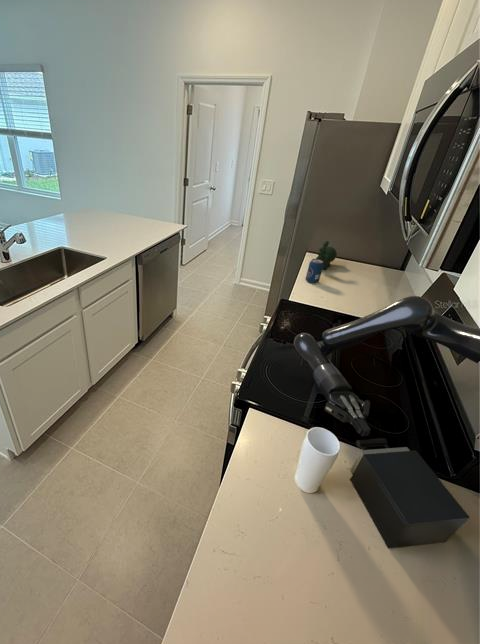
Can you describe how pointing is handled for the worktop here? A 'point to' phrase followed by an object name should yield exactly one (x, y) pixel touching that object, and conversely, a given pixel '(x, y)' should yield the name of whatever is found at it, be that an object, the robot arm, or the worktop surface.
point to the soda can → (314, 271)
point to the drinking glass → (316, 458)
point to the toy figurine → (326, 255)
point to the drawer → (370, 444)
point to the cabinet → (406, 499)
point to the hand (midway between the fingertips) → (366, 434)
